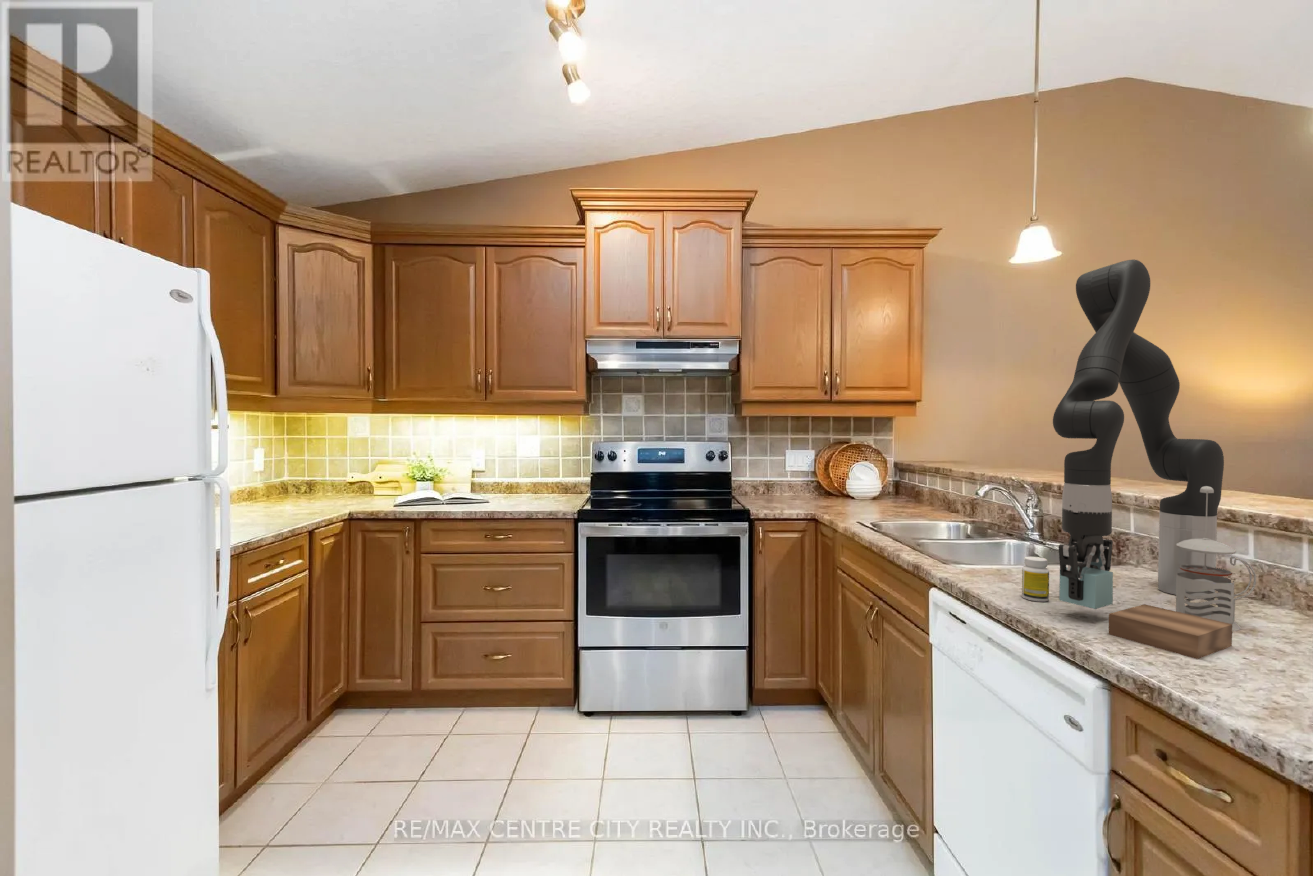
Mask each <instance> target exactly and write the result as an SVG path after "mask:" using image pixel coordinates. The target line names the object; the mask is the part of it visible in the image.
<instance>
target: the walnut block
mask: <svg viewBox="0 0 1313 876" xmlns="http://www.w3.org/2000/svg"><path fill="white" fill-rule="evenodd" d="M1108 635H1110V636H1114V637H1116V638H1120V639H1123V640H1128V641H1130V642H1135V643H1138V644H1142V645H1145V646H1149V647H1153V648H1157V649H1159V650H1163V651H1167V652H1170V653H1175V654H1177V655H1178V654H1179V655H1180V656H1181V655H1182V656H1185V657H1188V658H1191V659H1195V660H1199V659H1202V658H1205V657H1207V656H1210V655H1212V654H1215V653H1217V652H1220V651H1223V650H1226V649H1228V648H1231V647H1233V631H1232V624H1229V623H1225V622H1220V621H1216V620H1212V619H1207V618H1203V617H1198V616H1194V615H1190V614H1185V613H1181V612H1176V610H1172V609H1168V608H1167V609H1166V608H1163V607H1158V606H1154V605H1150V604H1145V603H1144V604H1140V605H1136V606H1132V607H1128V608H1125V609H1122V610H1117V611H1114V612H1110V613H1108Z"/></svg>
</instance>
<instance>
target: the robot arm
mask: <svg viewBox="0 0 1313 876" xmlns="http://www.w3.org/2000/svg"><path fill="white" fill-rule="evenodd" d="M1150 291H1151V277H1150V273H1149V271H1148V268H1147V267H1146V265H1145V264H1144V263H1143V262H1142V261H1140V260H1138V259H1127V260H1123V261H1119V262H1116V263H1112V264H1110V265H1107V266H1103V267H1100V268H1096V269H1094V270H1091V271H1088V272H1085V273H1083V274H1081V275H1080V276H1079V277H1078V278H1077V279H1076V282H1075V294H1076V297H1077V300H1078V304H1079V305H1080V306H1079V307H1080V308H1081V309H1082V311H1083V313H1084V315H1085V316H1086V318H1087V321H1088V322H1089V324H1090V326H1091V327H1092V328H1093V330H1094V332H1095V333H1094V334H1093V335H1092V337H1090V339H1089V340H1088V341H1087V343H1085V345H1084V346H1083V348H1082V350H1081V352H1080V354H1079V355H1078V358H1077V362H1076V367H1075V371H1074V376H1073V380H1072V382H1071V384H1070V386H1069V388H1068V389H1067V391H1066V392H1065V394H1064V395H1063V397H1062V398H1061V400H1060V402H1059V403H1058V404H1057V406H1056V408H1055V410H1054V413H1053V416H1052V426H1053V429H1054V431H1055V432H1056V434H1057V435H1059V436H1060V438H1061V437H1062V438H1065V439H1085V440H1086V439H1093V440H1095V439H1096V441H1095V443H1094V445H1092V447H1091V448H1090V449H1085V450H1078V451H1072V452H1068V453H1067V454H1065V456H1064V462H1063V473H1064V474H1063V476H1064V477H1063V482H1064V483H1063V489H1062V495H1061V496H1062V497H1061V503H1062V505H1061V506H1062V507H1061V529H1062V530H1063V532H1065V533H1068V534H1069V535H1070V537H1069V540H1068V543H1067V544H1059V546H1058V559H1059V575H1060V574H1061V576H1065V577H1067V578H1068V579H1069V588H1068V596H1069V598H1070V599H1074V600H1078V601H1081V600H1083V585H1084V581H1083V579H1084V574H1085V571H1086V570H1088V569H1089V568H1094V569H1098V570H1105V571H1110V572H1111V567H1112V556H1113V554H1112V553H1113V540H1112V539H1107V538H1103V537H1107V536H1110V535H1112V531H1113V528H1112V527H1113V496H1112V495H1113V493H1112V487H1111V481H1112V478H1111V477H1112V473H1111V472H1112V470H1111V469H1112V460H1113V459H1112V458H1113V454H1114V451H1115V448H1116V445H1117V441H1118V439H1119V436H1120V434H1121V432H1122V429H1123V426H1124V423H1125V413H1124V409H1123V408H1122V407H1121V405H1119V403H1117V402H1115V401H1113V400H1102V399H1106V398H1109V397H1111V396H1113V395H1114V394H1115V393H1116V392H1117V390H1118V388H1119V386H1120V388H1121V390H1122V392H1123V395H1124V396H1125V398H1126V400H1127V402H1128V405H1129V407H1130V409H1131V411H1132V414H1133V416H1134V419H1135V421H1136V424H1137V427H1138V429H1139V431H1140V435H1141V438H1142V442H1143V445H1144V449H1145V451H1146V454H1147V459H1148V461H1149V465H1150V467H1151V468H1152V471H1154V473H1155V475H1157V476H1158V478H1160V479H1163V480H1167V481H1176V482H1185V483H1187V484H1186V488H1185V490H1184V491H1183V492H1181V493H1179V494H1176V495H1171V496H1166V497H1163V498H1161V499H1160V501H1159V513H1158V515H1159V518H1158V520H1159V521H1158V525H1159V526H1158V529H1159V530H1158V562H1157V565H1158V566H1157V567H1158V568H1157V590H1159V591H1161V592H1163V593H1164V592H1165V593H1167V594H1171V595H1175V596H1176V578H1177V573H1180V572H1186V571H1184V570H1181V569H1180V567H1179V566H1180V565H1187V564H1189V565H1190V564H1191V565H1192V564H1193V565H1200V566H1201V565H1202V566H1204V565H1205V553H1199V552H1192V551H1187V550H1183V549H1180V548H1178V547H1177V545H1176V544H1177V543H1179V542H1182V541H1184V540H1189V539H1202V538H1205V528H1206V493H1202V492H1200V489H1201V488H1202V487H1204V486H1208V487H1211V488H1213V490H1214V493H1208V504H1207V538H1208V539H1210V540H1214V541H1217V539H1218V538H1217V535H1218V531H1217V529H1218V508H1219V506H1220V502H1221V499H1222V489H1223V486H1222V485H1223V476H1224V470H1225V468H1224V466H1225V460H1224V459H1225V458H1224V457H1225V456H1224V452H1223V449H1222V446H1220V444H1219V443H1218V442H1216V441H1215V440H1212V439H1202V438H1201V439H1200V438H1199V439H1198V438H1177V437H1176V435H1174V432H1173V431H1172V428H1171V425H1170V421H1169V420H1170V419H1169V417H1170V414H1171V412H1172V410H1173V407H1174V405H1175V402H1176V400H1177V399H1178V395H1179V392H1180V385H1181V384H1180V383H1181V382H1180V380H1179V377H1178V374H1177V372H1176V369H1175V367H1174V364H1173V362H1172V360H1171V358H1170V356H1169V355H1168V354H1167V352H1165V351H1164V350H1163V349H1161V347H1159V346H1157V345H1156V344H1155V343H1153V342H1151V341H1149V340H1148V339H1146V338H1144V337H1142V336H1141V335H1138V333H1136V332H1135V329H1136V327H1137V325H1138V323H1139V321H1140V318H1141V315H1142V313H1143V310H1144V308H1145V306H1146V304H1147V301H1148V299H1149V295H1150ZM1206 566H1207V567H1208V566H1209V567H1212V568H1213V567H1214V568H1215V567H1216V568H1217V554H1207V553H1206ZM1066 567H1068V568H1067V570H1066ZM1078 568H1080V569H1079V572H1078ZM1194 580H1198V581H1204V582H1212V581H1209V580H1206V579H1194ZM1212 583H1214V582H1212ZM1208 591H1211V592H1214V593H1216V590H1214V589H1213V590H1208ZM1186 592H1189V591H1188V590H1185V593H1186ZM1190 595H1198V596H1201V595H1206V593H1193V594H1190ZM1210 598H1212V599H1214V597H1210Z"/></svg>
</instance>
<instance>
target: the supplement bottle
mask: <svg viewBox="0 0 1313 876" xmlns="http://www.w3.org/2000/svg"><path fill="white" fill-rule="evenodd" d="M1023 560H1024V562H1023V563H1024V564H1023V565H1024V566H1022V567H1021V568H1022V569H1021V571H1022V572H1021V597H1022V598H1023V599H1026V600H1028V601H1032V602H1040V603H1044V602H1048V601H1049V598H1050V570H1049V569H1048V568H1047V567H1048V559H1046V558H1044V557H1038V556H1025V557H1024V559H1023Z"/></svg>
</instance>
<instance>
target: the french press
mask: <svg viewBox="0 0 1313 876" xmlns="http://www.w3.org/2000/svg"><path fill="white" fill-rule="evenodd" d="M1200 492H1202V493H1206V528H1205V538H1202V539H1189V540H1184V541H1182V542H1179V543H1177V544H1176V545H1177V547H1178V548H1180V549H1183V550H1187V551H1192V552H1199V553H1205V565H1204V566H1202V565H1201V566H1200V565H1193V564H1192V565H1191V564H1190V565H1189V564H1187V565H1180V566H1179V567H1180V569H1181V570H1184V571H1186V572H1180V573H1177V578H1176V595H1175V611H1176V612H1181V613H1185V614H1190V615H1194V616H1198V617H1203V618H1207V619H1212V620H1216V621H1220V622H1225V623H1229V624H1232V632H1235V631H1240V630H1242V628H1241V626H1240V625H1239V624H1238V623H1237V622H1236V621H1235V618H1236V617H1235V615H1236V614H1235V613H1236V611H1235V610H1236V600H1239V599H1242V598H1247V596H1249V595H1250V594H1251V593H1252V592H1253V591H1254V590H1255V587H1256V585H1257V574H1256V572H1255V570H1254V569H1253V567H1252V566H1251V564H1249V563H1248V562H1247V561H1245V560H1243V559H1242V558H1239V557H1236V556H1231V557H1229V563H1230V565H1231V566H1233V567H1234V566H1235V567H1236V564H1237V561H1240V562H1241V563H1242V564H1244V565H1245V566H1246V569H1247V571H1248V574H1249V581H1248V584H1247V586H1246V587H1245V589H1244V590H1242V591H1241V592H1238V593H1235V581H1234V580H1233V581H1232V579H1230V578H1227V577H1229V576H1232V575H1233V572H1232V571H1231V570H1227V569H1226V568H1220V567H1217V566H1216V567H1215V568H1214V567H1213V568H1212V567H1209V566H1208V567H1207V566H1206V553H1207V554H1216V555H1224V556H1225V555H1227V556H1228V555H1235V554H1236V553H1237V550H1236V549H1234V548H1233V547H1232V546H1230V545H1228V544H1226V543H1223V542H1220V541H1214V540H1210V539H1208V538H1207V504H1208V493H1214V490H1213V488H1211V487H1208V486H1204V487H1202V488H1201V489H1200ZM1233 559H1234V560H1233ZM1252 575H1253V577H1252ZM1194 579H1206V580H1209V581H1212V582H1214V583H1212V582H1204V581H1198V580H1194ZM1252 579H1253V583H1252ZM1251 584H1252V587H1251V589H1250V590H1249V592H1248V593H1246V592H1247V591H1248V589H1249V588H1250V586H1251ZM1213 589H1214V590H1215V593H1214V592H1211V591H1208V590H1213ZM1185 590H1188V591H1189V592H1186V593H1185ZM1193 593H1206V595H1201V596H1198V595H1190V594H1193ZM1244 593H1246V594H1245V595H1243V594H1244ZM1241 595H1242V596H1241ZM1210 597H1213V598H1210ZM1214 598H1216V599H1214ZM1195 600H1204V601H1201V602H1200V601H1199V602H1197V601H1196V602H1193V601H1195ZM1191 601H1192V602H1191ZM1214 605H1217V606H1214Z"/></svg>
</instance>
